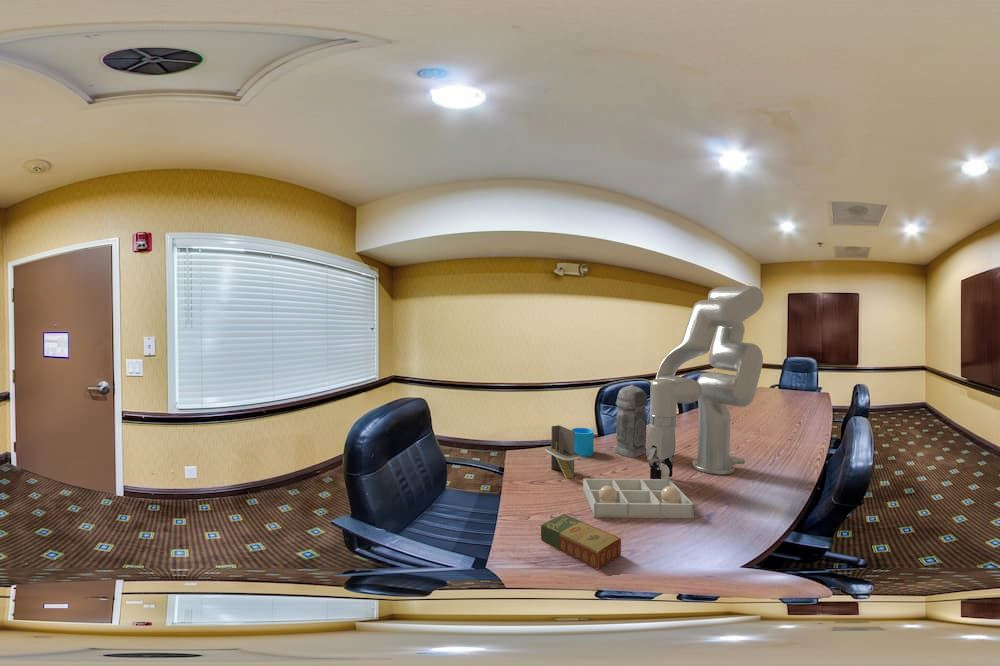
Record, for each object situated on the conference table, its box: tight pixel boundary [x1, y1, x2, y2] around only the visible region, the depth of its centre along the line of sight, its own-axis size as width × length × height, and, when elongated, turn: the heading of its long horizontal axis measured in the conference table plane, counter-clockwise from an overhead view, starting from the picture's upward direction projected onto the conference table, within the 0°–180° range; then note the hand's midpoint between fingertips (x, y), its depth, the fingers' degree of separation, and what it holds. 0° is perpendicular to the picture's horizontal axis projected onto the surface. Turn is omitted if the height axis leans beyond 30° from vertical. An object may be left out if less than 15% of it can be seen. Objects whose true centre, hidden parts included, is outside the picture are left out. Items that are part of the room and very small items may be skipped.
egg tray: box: [582, 478, 695, 519], centre depth 123 cm, size 25×17×4 cm
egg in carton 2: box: [661, 486, 680, 504], centre depth 118 cm, size 5×5×6 cm
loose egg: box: [660, 462, 670, 479], centre depth 138 cm, size 5×5×6 cm
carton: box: [540, 513, 622, 569], centre depth 100 cm, size 8×16×4 cm, turn 42°
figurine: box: [613, 383, 649, 459], centre depth 165 cm, size 10×14×25 cm
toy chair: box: [545, 424, 581, 479], centre depth 144 cm, size 20×25×15 cm
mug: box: [570, 427, 595, 457], centre depth 164 cm, size 12×8×8 cm
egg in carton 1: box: [599, 486, 617, 503], centre depth 119 cm, size 5×5×6 cm
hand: (661, 478), depth 138 cm, fingers open, 6 cm apart
